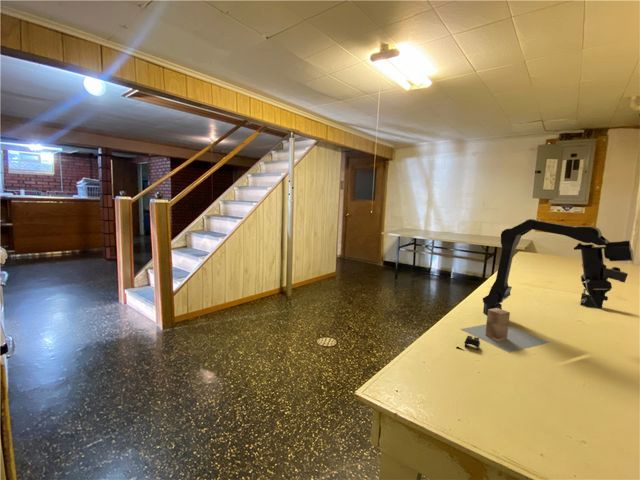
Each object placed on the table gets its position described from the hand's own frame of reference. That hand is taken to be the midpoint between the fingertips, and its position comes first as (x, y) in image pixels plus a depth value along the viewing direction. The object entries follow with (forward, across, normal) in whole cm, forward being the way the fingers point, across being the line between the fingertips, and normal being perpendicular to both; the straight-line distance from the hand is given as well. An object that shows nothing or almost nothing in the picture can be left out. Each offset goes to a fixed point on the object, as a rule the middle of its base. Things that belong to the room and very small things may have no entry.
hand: (597, 305), depth 111 cm
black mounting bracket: (+10, -31, +37) cm, 50 cm away
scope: (+13, +60, -4) cm, 62 cm away
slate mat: (+10, -13, +29) cm, 34 cm away
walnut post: (+9, -16, +31) cm, 36 cm away
